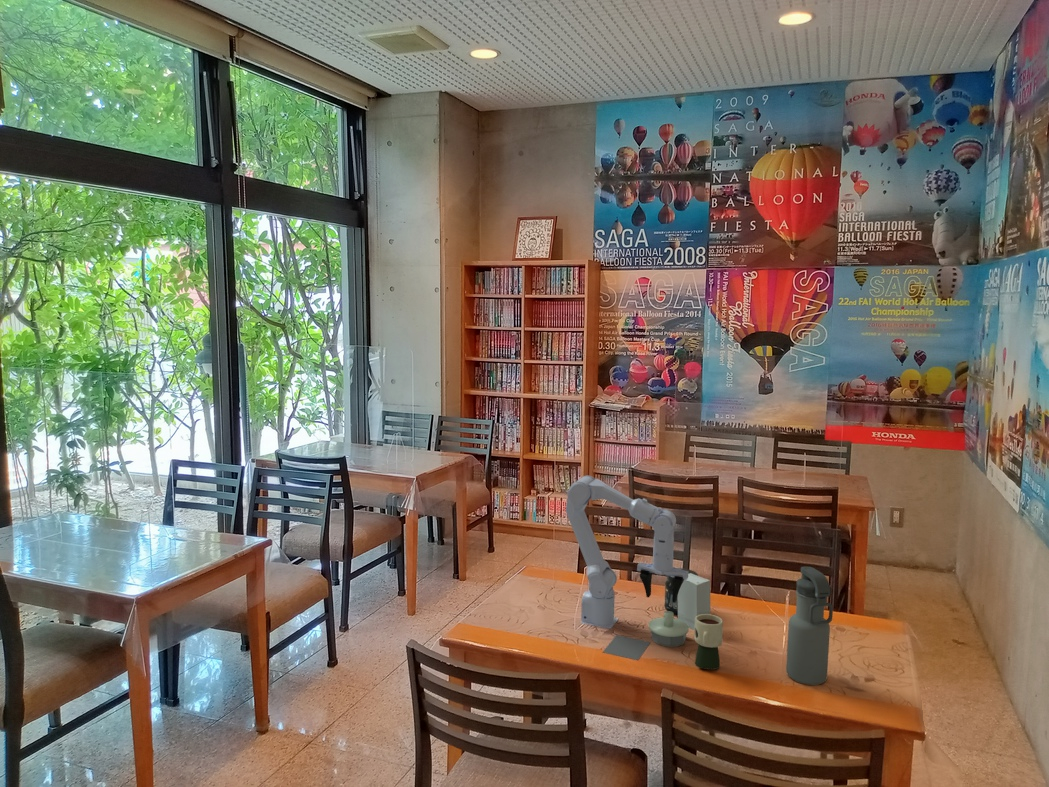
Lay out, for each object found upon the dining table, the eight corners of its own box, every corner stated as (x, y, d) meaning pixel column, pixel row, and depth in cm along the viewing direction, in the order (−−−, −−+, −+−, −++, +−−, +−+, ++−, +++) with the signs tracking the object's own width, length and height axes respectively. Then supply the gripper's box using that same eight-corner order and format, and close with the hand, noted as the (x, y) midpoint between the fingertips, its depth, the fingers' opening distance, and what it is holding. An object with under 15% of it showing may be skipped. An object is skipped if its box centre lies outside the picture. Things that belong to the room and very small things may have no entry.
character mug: (697, 655, 197) (699, 609, 196) (724, 660, 195) (726, 613, 193) (689, 673, 188) (691, 624, 186) (717, 679, 185) (719, 630, 183)
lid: (642, 631, 203) (643, 615, 202) (656, 617, 212) (656, 602, 212) (681, 640, 197) (681, 624, 197) (693, 625, 207) (693, 610, 206)
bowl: (648, 644, 204) (648, 630, 203) (657, 631, 212) (657, 618, 211) (680, 651, 200) (680, 637, 199) (687, 638, 208) (688, 624, 207)
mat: (602, 654, 197) (602, 652, 197) (616, 636, 208) (616, 634, 208) (637, 662, 193) (637, 660, 193) (650, 643, 204) (650, 641, 204)
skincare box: (710, 629, 214) (712, 580, 212) (696, 634, 210) (698, 584, 209) (689, 619, 221) (691, 571, 219) (675, 623, 217) (677, 575, 216)
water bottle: (836, 685, 182) (842, 577, 179) (801, 689, 180) (807, 580, 177) (811, 665, 192) (817, 563, 189) (778, 669, 190) (783, 565, 187)
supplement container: (675, 601, 234) (677, 565, 233) (704, 610, 227) (706, 573, 226) (657, 610, 227) (658, 573, 226) (686, 620, 220) (688, 582, 218)
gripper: (634, 553, 208) (632, 598, 210) (684, 561, 201) (682, 608, 203) (642, 546, 214) (640, 590, 216) (691, 554, 208) (689, 599, 209)
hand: (661, 598), depth 210 cm, fingers open, 7 cm apart
